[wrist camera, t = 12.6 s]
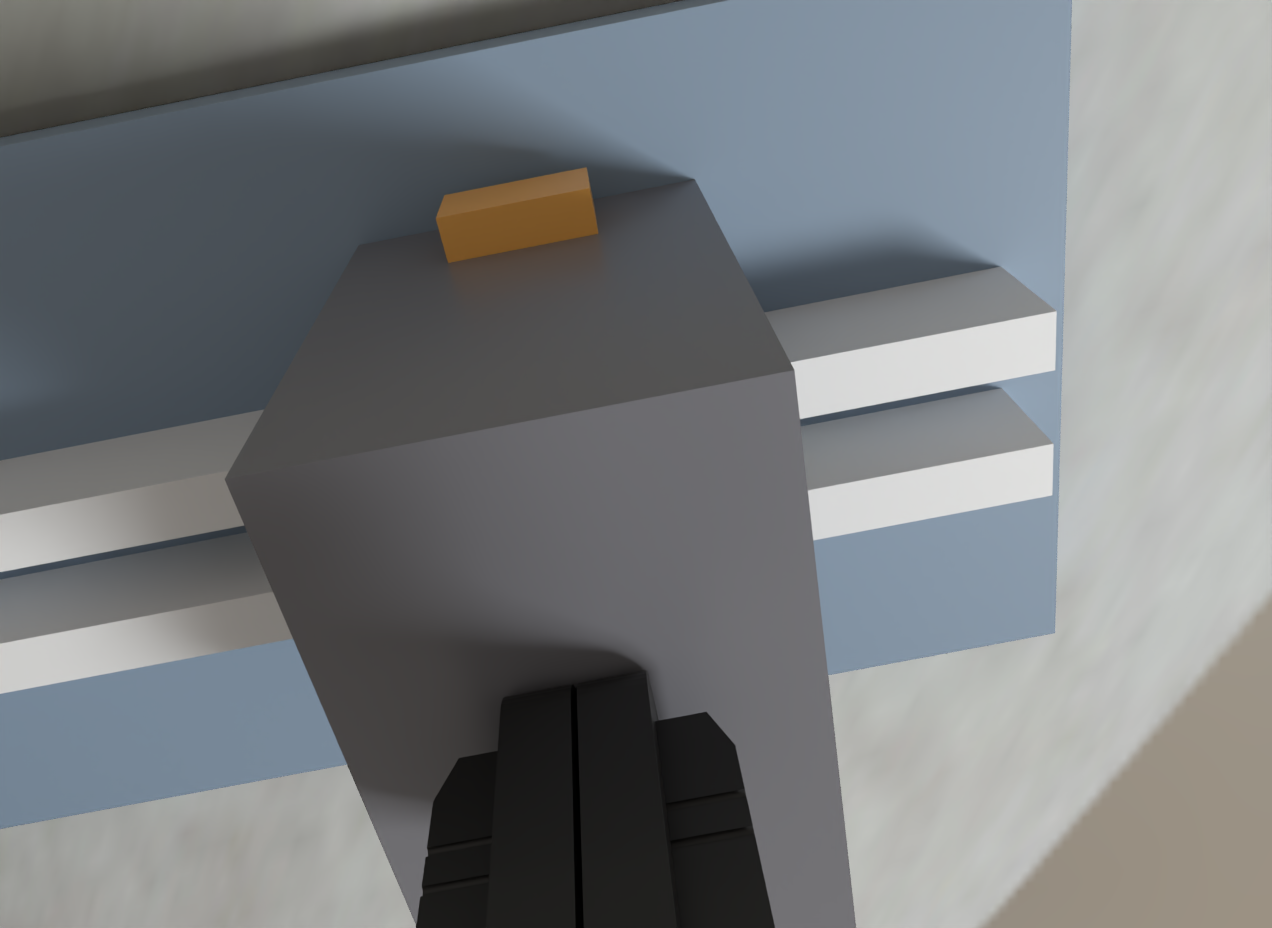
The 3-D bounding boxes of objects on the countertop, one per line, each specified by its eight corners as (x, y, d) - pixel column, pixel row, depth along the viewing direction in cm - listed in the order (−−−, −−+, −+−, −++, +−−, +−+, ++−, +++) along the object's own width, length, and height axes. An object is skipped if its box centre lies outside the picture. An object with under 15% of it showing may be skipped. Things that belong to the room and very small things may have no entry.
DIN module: (346, 204, 15) (197, 418, 9) (689, 137, 15) (787, 304, 8) (483, 642, 19) (450, 1005, 12) (755, 592, 19) (856, 932, 12)
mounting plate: (-433, 224, 15) (-656, 296, 12) (1036, -71, 15) (1151, -66, 12) (-37, 794, 21) (-128, 931, 18) (1028, 595, 21) (1104, 704, 18)
